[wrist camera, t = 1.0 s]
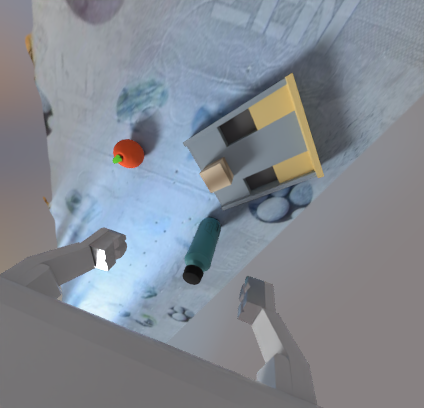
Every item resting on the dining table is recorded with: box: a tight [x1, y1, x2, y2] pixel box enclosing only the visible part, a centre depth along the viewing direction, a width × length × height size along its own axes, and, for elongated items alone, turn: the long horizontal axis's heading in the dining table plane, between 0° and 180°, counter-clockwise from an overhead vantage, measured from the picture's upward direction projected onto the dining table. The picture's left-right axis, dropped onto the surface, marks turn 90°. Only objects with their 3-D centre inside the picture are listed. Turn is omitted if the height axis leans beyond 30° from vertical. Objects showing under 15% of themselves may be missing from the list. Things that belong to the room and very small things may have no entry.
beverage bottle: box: [183, 218, 221, 285], centre depth 43 cm, size 6×7×20 cm
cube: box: [200, 157, 234, 193], centre depth 37 cm, size 5×5×5 cm
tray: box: [183, 73, 324, 211], centre depth 37 cm, size 23×19×5 cm
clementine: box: [113, 139, 144, 168], centre depth 42 cm, size 8×7×7 cm
